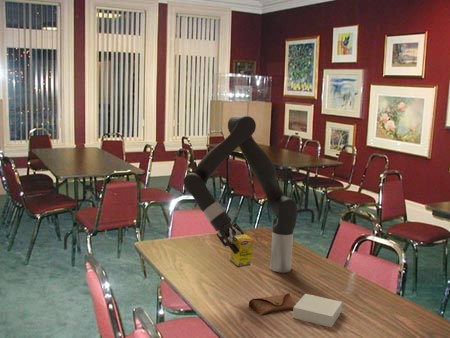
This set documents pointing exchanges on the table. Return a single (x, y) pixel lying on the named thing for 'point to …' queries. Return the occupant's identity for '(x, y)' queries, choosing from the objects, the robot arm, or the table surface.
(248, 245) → the supplement box
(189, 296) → the table surface
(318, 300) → the plate
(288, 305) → the sunglasses case
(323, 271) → the table surface
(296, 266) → the table surface
